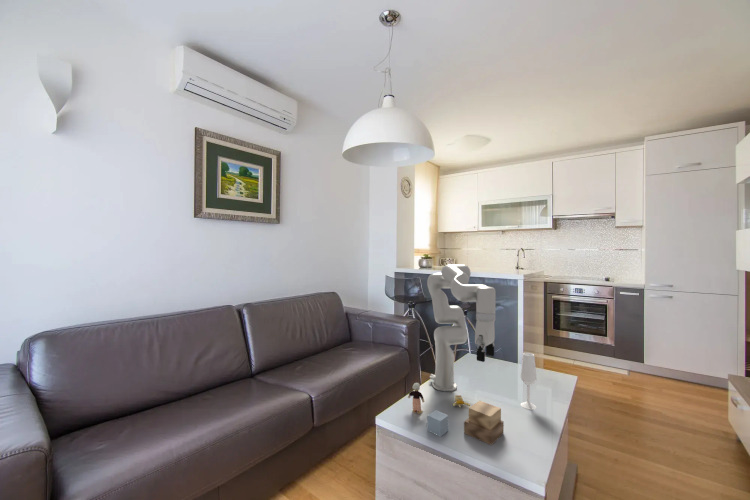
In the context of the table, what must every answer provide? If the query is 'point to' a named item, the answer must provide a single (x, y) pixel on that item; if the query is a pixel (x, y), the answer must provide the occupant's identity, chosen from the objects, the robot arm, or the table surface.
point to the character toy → (459, 401)
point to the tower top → (485, 414)
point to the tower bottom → (483, 431)
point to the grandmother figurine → (416, 398)
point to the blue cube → (437, 422)
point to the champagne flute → (528, 376)
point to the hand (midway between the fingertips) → (485, 358)
